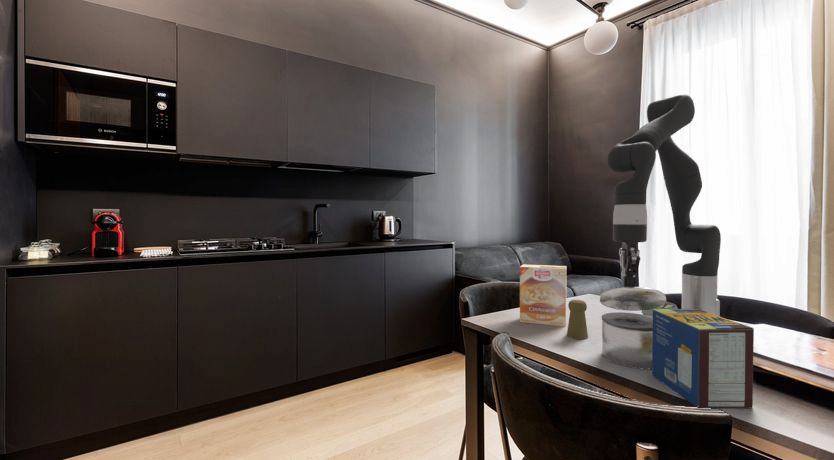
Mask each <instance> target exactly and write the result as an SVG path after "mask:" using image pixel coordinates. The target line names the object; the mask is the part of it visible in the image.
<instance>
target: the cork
mask: <svg viewBox="0 0 834 460" xmlns="http://www.w3.org/2000/svg"><path fill="white" fill-rule="evenodd" d="M587 306H588V305H587V303H586V302H585V301H584V300H582V299H571V300H569V301H568V305H567V307H568V309H569V315H568V322H567V323H568V325H567V330H566V331H567V332H566V336H567V337H568V338H571V339H575V340H586V339H588V338H589V336H588V335H589V333H588V327H587V326H588V325H587V319H586V313H585V312H586V311H587V309H588V307H587Z"/></svg>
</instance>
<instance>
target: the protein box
mask: <svg viewBox="0 0 834 460" xmlns="http://www.w3.org/2000/svg"><path fill="white" fill-rule="evenodd" d="M754 335H755V330H754V327H751V326H749V325H745V324H743V323H739V322H737V321H734V320H732V319H731V320H730V319H727V318H725V317H722V316H721V315H720V316H717V315H714V314H711V313H708V312H705V311H702V310H700V309H682V308H678V309H653V339H652V369H651V375H652V376H653V377H654V378H656V379H657V380H659V381H660V382H662V383H663V384H664V385H665V386H666V387H668V388H670V390H672V391H673V392H675V393H677V394H678V395H679V396H680V397H682V398H684V399H685V400H686V401H688V402H689V403H690V404H692V405H693V406H694V407H696V406H699V407H710V408H709V409H752V408H753V406H754V405H753V404H754V402H753V401H754V400H753V399H754V397H753V396H754V393H753V392H754V346H755V345H754V341H755V340H754V339H755V338H754V337H755V336H754Z"/></svg>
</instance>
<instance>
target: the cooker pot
mask: <svg viewBox="0 0 834 460" xmlns="http://www.w3.org/2000/svg"><path fill="white" fill-rule="evenodd" d="M601 321H602V323H601V324H602V328H601V329H602V330H601V331H602V332H601V333H602V335H601V344H602V345H601V353H602V354H601V355H602V357H603V358H604V359H606V360H607V361H609V362H612V363H614V364H617V365H619V366H623V367H628V368H632V367H633V369H640V368H643V370H652V339H653V317H652V316H648V315H643V313H634V312H622V311H619V312H616V311H615V312H607V313H604V314H602V315H601Z"/></svg>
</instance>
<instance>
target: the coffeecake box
mask: <svg viewBox="0 0 834 460" xmlns="http://www.w3.org/2000/svg"><path fill="white" fill-rule="evenodd" d="M567 267H568V266H567V265H549V264H547V265H546V264H544V265H543V264H525V263H524V264H522V265H520V267H519V323H523V324H535V325H544V326H545V325H547V326H555V327H556V326H557V327H564V328H565V327H566V326H567V325H566V324H567V289H568V288H567V286H568V285H567V277H568V276H567Z"/></svg>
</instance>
